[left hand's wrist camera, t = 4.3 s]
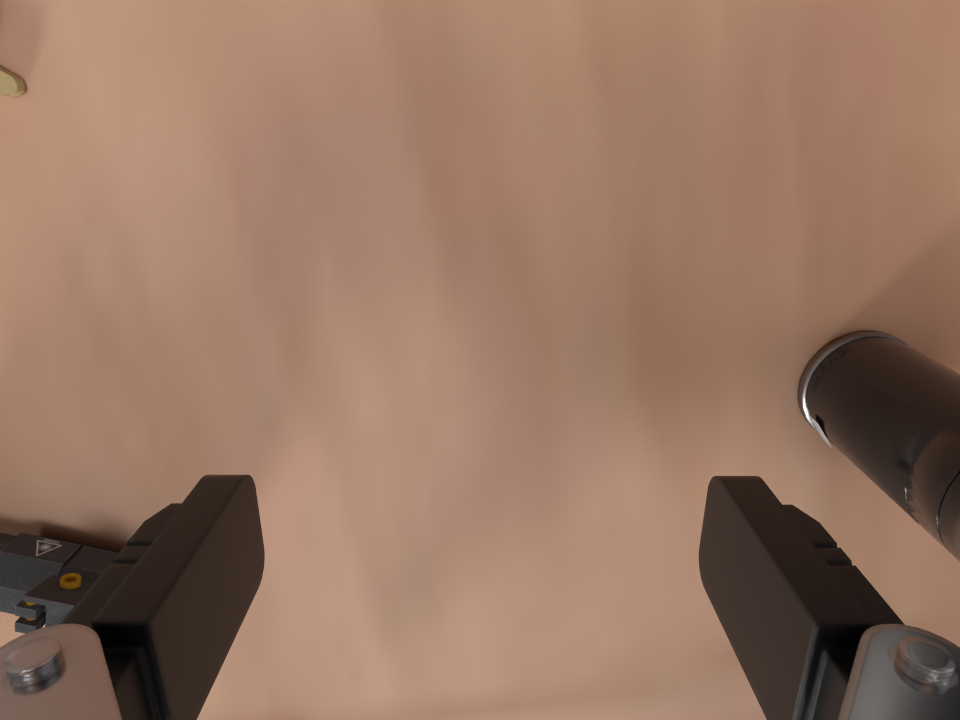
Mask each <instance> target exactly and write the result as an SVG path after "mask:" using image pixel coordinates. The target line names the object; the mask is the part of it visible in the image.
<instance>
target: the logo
mask: <svg viewBox="0 0 960 720" xmlns="http://www.w3.org/2000/svg"><path fill="white" fill-rule="evenodd" d="M24 92H25V84H24V82H23V80H22V79H21V78H20V77H19V76H17V75H15V74H13V73H11V72H10V71H8V70H6V69H4V68H2V67H0V94H3V95H7V96H19V95H21V94H23V93H24Z"/></svg>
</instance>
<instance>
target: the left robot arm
mask: <svg viewBox="0 0 960 720" xmlns="http://www.w3.org/2000/svg"><path fill="white" fill-rule="evenodd" d="M798 399H799V405H800V409H801V411H802V414H803V416H804V417H805V419H806V420H807V422H808V423H809V424H810V425H811V426H812V427H813V428H814V429H815V430H817V431H818V432H819V433H820V435H821V436H822V438H823V440H824V441H825V442H826V443H827V444H828V445H829V446H830V447H831V448H832V446H831V445H830V443H829V441H830V442H831V443H832V444H833V445H834V446H835V447H836V448H838V449H839V450H840V451H841V452H842V453H843V454H844V455H845V456H846V457H847V458H848V459H849V460H850V461H852V462H853V463H854V464H855V465H856V466H857V467H858V468H859V469H860V470H861V471H862V472H863V473H864V474H865V475H867V476H868V477H869V478H870V479H871V480H872V481H873V482H874V483H875V484H876V485H877V486H878V487H879V488H881V489H882V490H883V491H884V492H885V493H886V494H887V495H888V496H889V497H890V498H891V499H892V500H893V501H895V502H896V503H897V504H898V505H899V506H900V507H901V508H902V509H903V510H904V511H905V512H906V513H907V514H909V515H910V516H911V517H912V518H913V519H914V520H915V521H916V522H917V523H918V524H920V525H921V526H922V527H923V528H924V529H925V530H926V531H927V532H928V533H929V534H930V535H932V536H933V537H934V538H935V539H936V540H937V541H938V542H939V543H940V544H941V545H942V546H943V547H944V548H946V549H947V550H948V551H949V552H950V553H951V554H952V555H953V556H954V557H955V558H956V559H957V560H959V561H960V374H959V373H957V372H955V371H953V370H951V369H949V368H948V367H946V366H944V365H942V364H940V363H938V362H936V361H935V360H933V359H931V358H929V357H927V356H926V355H924V354H922V353H920V352H918V351H917V350H915V349H913V348H911V347H910V346H908V345H907V344H906V343H904V342H902V341H901V340H899V339H897V338H895V337H893V336H891V335H889V334H885V333H881V332H874V331H864V332H857V333H852V334H849V335H846V336H843V337H841V338H839V339H837V340H835V341H833V342H831V343H830V344H828V345H827V346H825V347H824V348H823V349H822V350H821V351H819V352H818V353H817V354H816V355H815V357H814V358H813V359H812V360H811V361H810V363H809V364H808V366H807V367H806V369H805V371H804V373H803V376H802V378H801V381H800V385H799V393H798ZM827 439H828V440H829V441H828V440H827ZM851 562H852V561H851V560H850V559H849V557H848V556H847V555H846V554H845V553H844V551H843V550H842V549H841V548H837V543H836V542H835V541H834V540H833V538H832V537H831V536H830V535H829V534H828V532H827V531H826V530H825V529H824V528H823V526H822V525H821V524H820V523H819V522H818V521H816V520H815V519H813V518H812V517H810V516H809V515H807V514H805V513H804V512H802V511H801V510H799V509H798V508H796V507H795V506H793V505H782V504H781V503H780V501H779V500H778V499H777V498H776V496H775V495H774V494H773V492H772V491H771V490H770V489H769V487H768V486H767V485H766V483H765V482H764V481H763V480H762V479H761V478H760V477H758V476H714V477H713V478H712V479H711V480H710V483H709V486H708V492H707V499H706V506H705V513H704V520H703V527H702V534H701V541H700V547H699V568H700V574H701V579H702V583H703V586H704V588H705V590H706V593H707V595H708V597H709V599H710V601H711V603H712V605H713V607H714V609H715V612H716V614H717V616H718V618H719V620H720V622H721V624H722V626H723V628H724V630H725V633H726V635H727V637H728V639H729V641H730V643H731V645H732V647H733V649H734V651H735V654H736V656H737V658H738V660H739V662H740V664H741V666H742V668H743V670H744V672H745V675H746V677H747V679H748V681H749V683H750V685H751V687H752V689H753V691H754V693H755V696H756V698H757V700H758V702H759V704H760V706H761V708H762V710H763V712H764V715H765V717H766V719H767V720H960V647H958V646H956V645H955V644H953V643H952V642H950V641H948V640H946V639H944V638H942V637H940V636H938V635H936V634H933V633H931V632H929V631H926V630H923V629H920V628H916V627H912V626H908V625H904V623H903V622H902V621H901V620H900V619H899V617H898V616H897V615H896V614H895V613H894V611H893V610H892V609H891V608H890V607H889V605H888V604H887V603H886V602H885V601H884V599H883V598H882V597H881V596H880V595H879V593H878V592H877V591H876V590H875V589H874V587H873V586H872V585H871V584H870V583H869V581H868V580H867V579H866V578H865V577H864V575H863V574H862V573H861V572H860V571H859V569H858V568H857V567H856V566H852V563H851ZM263 569H264V544H263V537H262V530H261V523H260V516H259V509H258V502H257V495H256V488H255V483H254V481H253V478H252V477H251V476H250V475H205V476H203V477H202V478H201V479H200V481H199V482H198V483H197V485H196V486H195V487H194V489H193V490H192V491H191V492H190V494H189V495H188V496H187V498H186V499H185V500H184V502H183V503H182V504H170V505H169V506H167V507H166V508H164V509H163V510H161V511H160V512H158V513H157V514H155V515H154V516H152V517H151V518H149V519H148V520H146V521H145V522H144V523H143V524H142V525H141V526H140V528H139V529H138V530H137V531H136V532H135V534H134V535H133V536H132V537H131V539H130V540H129V541H128V544H127V546H124V547H123V548H122V549H121V551H120V552H119V553H118V554H117V555H116V557H115V558H114V559H113V564H109V565H108V566H107V568H106V569H105V570H104V571H103V572H102V574H101V575H100V576H99V577H98V578H97V580H96V581H95V582H94V583H93V584H92V586H91V587H90V588H89V589H88V590H87V592H86V593H85V594H84V595H83V597H82V598H81V599H80V600H79V601H78V603H77V604H76V605H75V606H74V607H73V609H72V610H71V611H70V612H69V613H68V615H67V616H66V617H65V618H64V619H63V621H62V622H61V623H60V624H59V625H52V626H48V627H44V628H40V629H37V630H34V631H31V632H29V633H27V634H24V635H22V636H20V637H18V638H16V639H14V640H12V641H10V642H8V643H7V644H5V645H4V646H2V647H0V720H197V718H198V715H199V713H200V711H201V709H202V707H203V705H204V703H205V701H206V698H207V696H208V694H209V692H210V690H211V688H212V686H213V684H214V681H215V679H216V677H217V675H218V673H219V671H220V669H221V667H222V664H223V662H224V660H225V658H226V656H227V654H228V652H229V650H230V647H231V645H232V643H233V641H234V639H235V637H236V635H237V632H238V630H239V628H240V626H241V624H242V622H243V620H244V618H245V615H246V613H247V611H248V609H249V607H250V605H251V603H252V601H253V598H254V596H255V594H256V592H257V590H258V588H259V585H260V582H261V579H262V575H263Z"/></svg>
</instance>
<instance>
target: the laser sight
mask: <svg viewBox="0 0 960 720" xmlns="http://www.w3.org/2000/svg"><path fill="white" fill-rule="evenodd" d="M117 554H118V553H117V552H112V551H108V550H103V549H98V548H93V547H89V546H84V545H79V544H74V543H69V542H65V541H60V540H55V539H50V538H46V537H41V536H36V535H31V534H27V533H22V532H21V533H20V534H19V535H18V536H12V535H8V534H4V533H0V611H1V612H6V613H11V614H15V616H20V618H19V619H18V620H17V621H16V622H15V632H20V633H25V634H27V633H29V632H31V631H34V630H37V629H40V628H42V627H43V625H44V624H45V623H46V625H45V627H48V626H52V625H59V624H60V623H61V622H62V621H63V619H64V618H65V617H66V616H67V615H68V613H69V612H70V611H71V610H72V609H73V607H74V606H75V605H76V604H77V603H78V601H79V600H80V599H81V598H82V597H83V595H84V594H85V593H86V592H87V590H88V589H89V588H90V587H91V586H92V584H93V583H94V582H95V581H96V580H97V578H98V577H99V576H100V575H101V574H102V572H103V571H104V570H105V569H106V568H107V566H108V565H109V564H113V559H114V558H115V557H116V555H117Z"/></svg>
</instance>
